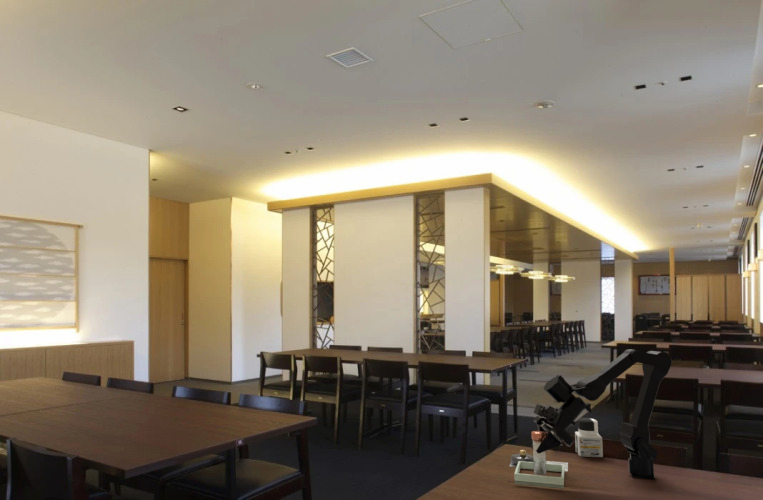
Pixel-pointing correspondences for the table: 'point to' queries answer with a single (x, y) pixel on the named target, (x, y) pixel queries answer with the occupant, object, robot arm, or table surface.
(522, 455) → the plate
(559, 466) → the tray
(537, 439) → the glass spice jar
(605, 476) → the table surface
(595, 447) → the container
